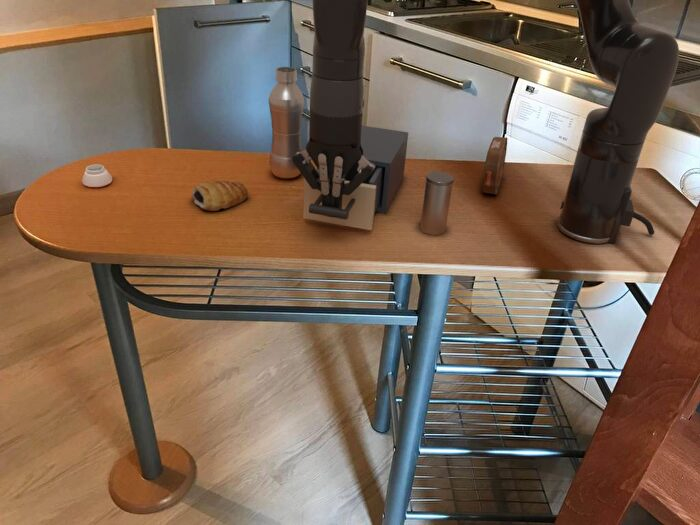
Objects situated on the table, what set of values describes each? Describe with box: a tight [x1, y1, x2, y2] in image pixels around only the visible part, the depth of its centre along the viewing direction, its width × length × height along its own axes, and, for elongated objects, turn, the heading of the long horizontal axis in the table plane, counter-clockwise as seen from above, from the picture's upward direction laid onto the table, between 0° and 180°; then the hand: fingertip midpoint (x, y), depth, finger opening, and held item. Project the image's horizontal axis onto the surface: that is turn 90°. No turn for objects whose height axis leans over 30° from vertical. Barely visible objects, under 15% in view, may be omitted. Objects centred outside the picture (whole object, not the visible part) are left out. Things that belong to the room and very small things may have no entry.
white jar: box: [81, 163, 113, 188], centre depth 110 cm, size 5×3×5 cm
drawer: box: [303, 163, 385, 231], centre depth 103 cm, size 20×12×8 cm, turn 165°
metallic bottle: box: [267, 66, 305, 179], centre depth 113 cm, size 6×7×20 cm
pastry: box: [191, 179, 249, 212], centre depth 107 cm, size 9×7×4 cm
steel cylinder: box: [419, 171, 455, 236], centre depth 101 cm, size 4×4×10 cm
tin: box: [481, 136, 508, 196], centre depth 118 cm, size 15×3×8 cm, turn 161°
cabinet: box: [361, 125, 409, 214], centre depth 113 cm, size 16×13×9 cm
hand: (331, 214), depth 97 cm, fingers closed
